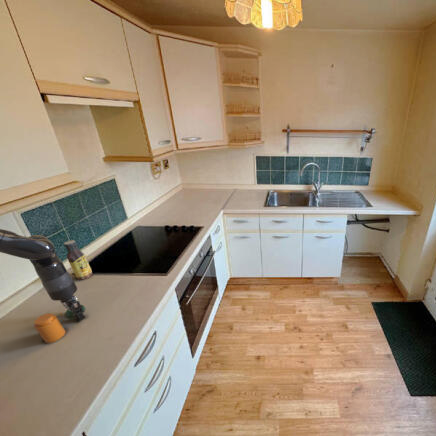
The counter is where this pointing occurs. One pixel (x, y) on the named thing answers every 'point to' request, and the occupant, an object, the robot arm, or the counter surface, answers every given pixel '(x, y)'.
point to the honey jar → (49, 327)
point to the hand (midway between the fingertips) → (78, 316)
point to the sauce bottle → (77, 261)
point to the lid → (70, 315)
